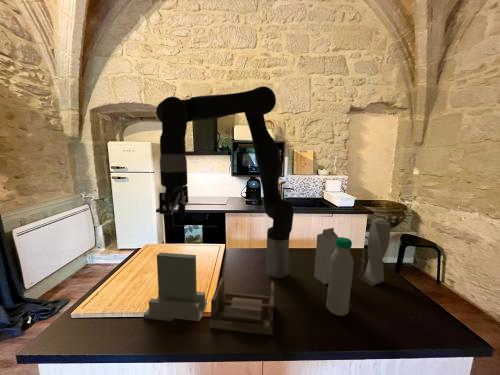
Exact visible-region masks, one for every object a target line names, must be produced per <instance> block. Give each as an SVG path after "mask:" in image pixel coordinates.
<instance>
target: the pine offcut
mask: <svg viewBox="0 0 500 375" xmlns="http://www.w3.org/2000/svg"><path fill="white" fill-rule="evenodd" d="M261 312H262V300H254V299H244V298H234V297H233V300H232V303H231V306H230V317H239V318H248V319H257V320H261Z"/></svg>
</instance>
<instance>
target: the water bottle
mask: <svg viewBox="0 0 500 375" xmlns="http://www.w3.org/2000/svg"><path fill="white" fill-rule="evenodd" d="M338 237H339V236H338ZM352 246H353V242H352V240H351V239H350V238H348V237H342V236H340V237H339V238H337V239H336V247H337V249H336V250H335V251H334V253H333V254H332V256H331V258H330V262H331V264H330V270H329V283H328V287H327V292H326V293H327V297H326V298H327V299H326V308H327V310H328V311H329V312H330V313H331V314H333V315H335V316H340V317H344V316H346V315H348V314H349V312H350V311H349V310H350V301H351V289H352V284H353V283H352V282H353V274H354V273H353V272H354V271H353V270H354V269H353V267H354V265H355V262H354V258H353V257H352V253H351V251H350V250H351V249H352Z"/></svg>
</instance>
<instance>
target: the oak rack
mask: <svg viewBox="0 0 500 375" xmlns="http://www.w3.org/2000/svg"><path fill="white" fill-rule="evenodd" d="M233 297H234V298H244V299H254V300H262V309H263V325H260V324H251V323H242V322H234V321H225V320H222V313H223V310H224V307H225V305H227V306H231V303H232V300H233ZM274 299H275V281H271V282H270V296H269V295H262V294H252V293H251V294H250V293H241V292H232V291H225V277H220V279H219V282H218V284H217V286H216V288H215V290H214V293H213V296H212V298H211V300H210V307H211V308H210V311H211V312H210V315H211V316H210V317H211V318H210V321H209V322H210V323H209V324H210V325H209V326H210V329H218V330H226V331H235V332H243V333H251V334H252V333H253V334H258V335H259V334H260V335H268V336H269V335H270V336H273V334H274V333H273V328H274V326H273V325H274V307H275V306H274V303H275V300H274Z"/></svg>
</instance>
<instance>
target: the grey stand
mask: <svg viewBox="0 0 500 375" xmlns="http://www.w3.org/2000/svg"><path fill="white" fill-rule="evenodd" d="M207 299H208V298H206V292H204V291H203V292H202V291H197V303H190V302H180V301H171V300H161V299H159V290H157V297H156V298H150V299H149V301H148V309H147V310H146V311H145V312H144V314H143V319H148V320H157V321H158V320H159V321H167V322H173V321H174V320H175V319H176V320H185V321H195V322H200V321H201V318H202V317H203V313H204V312H205V309H206V307H207V306H206V305H208V303H207Z"/></svg>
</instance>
